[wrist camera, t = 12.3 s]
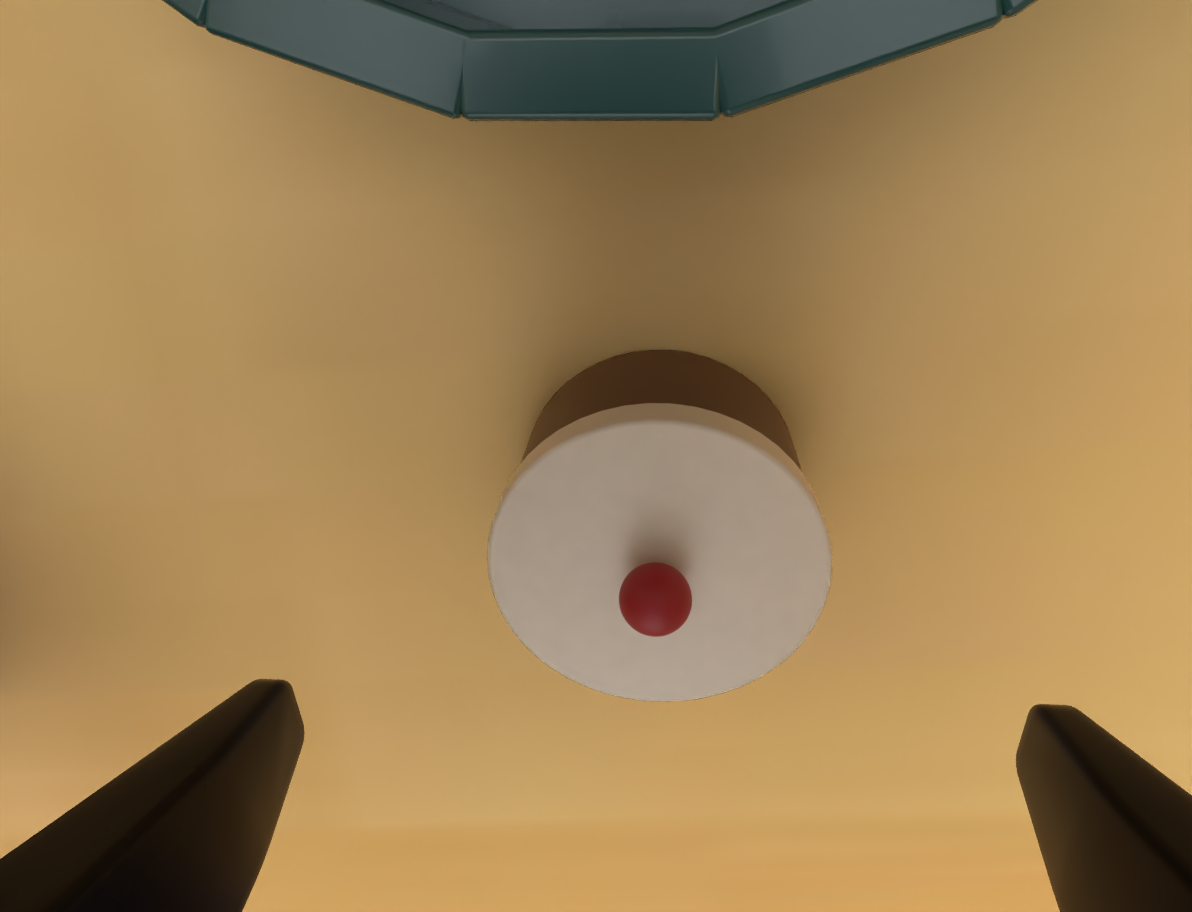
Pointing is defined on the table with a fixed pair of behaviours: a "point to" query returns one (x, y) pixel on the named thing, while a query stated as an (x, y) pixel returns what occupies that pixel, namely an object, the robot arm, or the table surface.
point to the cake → (660, 532)
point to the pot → (593, 49)
